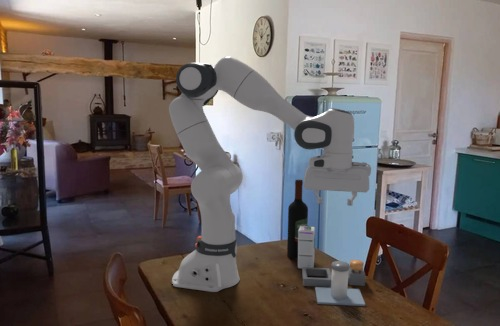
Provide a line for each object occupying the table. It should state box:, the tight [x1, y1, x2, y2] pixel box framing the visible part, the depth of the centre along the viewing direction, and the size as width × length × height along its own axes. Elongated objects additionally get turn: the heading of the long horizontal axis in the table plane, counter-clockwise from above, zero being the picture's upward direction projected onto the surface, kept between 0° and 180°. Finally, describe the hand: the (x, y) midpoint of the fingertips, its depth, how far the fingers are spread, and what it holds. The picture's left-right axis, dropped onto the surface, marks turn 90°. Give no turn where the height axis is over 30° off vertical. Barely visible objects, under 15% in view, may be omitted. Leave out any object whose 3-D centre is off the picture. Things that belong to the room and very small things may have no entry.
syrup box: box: [297, 225, 316, 270], centre depth 152 cm, size 6×6×14 cm
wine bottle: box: [286, 179, 309, 260], centre depth 161 cm, size 8×8×30 cm
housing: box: [301, 267, 366, 288], centre depth 140 cm, size 20×9×4 cm, turn 85°
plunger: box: [349, 259, 364, 272], centre depth 139 cm, size 4×4×6 cm
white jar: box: [330, 260, 350, 299], centre depth 128 cm, size 5×5×10 cm
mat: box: [314, 286, 366, 307], centre depth 129 cm, size 14×10×1 cm
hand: (334, 204), depth 132 cm, fingers open, 8 cm apart
